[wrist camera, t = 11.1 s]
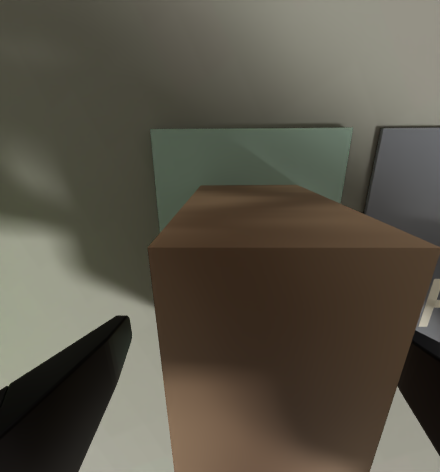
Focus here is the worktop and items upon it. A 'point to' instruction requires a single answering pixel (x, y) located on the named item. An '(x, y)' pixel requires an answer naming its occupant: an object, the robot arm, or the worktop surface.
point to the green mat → (246, 161)
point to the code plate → (410, 199)
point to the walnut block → (282, 328)
